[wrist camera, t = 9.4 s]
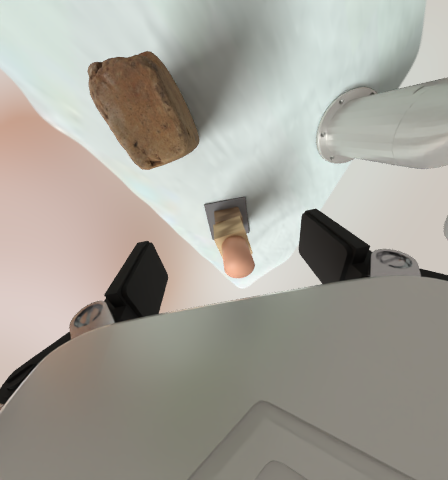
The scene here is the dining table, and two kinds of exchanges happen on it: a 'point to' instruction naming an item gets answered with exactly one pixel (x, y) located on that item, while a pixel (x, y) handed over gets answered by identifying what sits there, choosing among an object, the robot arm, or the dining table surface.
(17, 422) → the robot arm
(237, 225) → the tower top
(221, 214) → the block
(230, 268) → the peach egg-shaped pebble
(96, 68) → the block
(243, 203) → the mat
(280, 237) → the dining table surface
